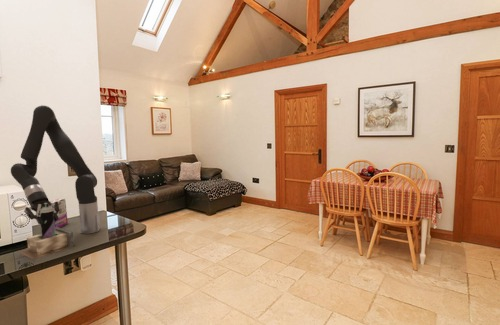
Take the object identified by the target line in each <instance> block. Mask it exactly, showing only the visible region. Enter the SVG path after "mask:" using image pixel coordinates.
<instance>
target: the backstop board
mask: <svg viewBox="0 0 500 325" xmlns="http://www.w3.org/2000/svg"><path fill="white" fill-rule="evenodd" d="M55 230H57V231H60V232H63V233H66V234H67V239H68V246H65V247H62V248H59V249H56V250H53V251H50V252H47V253H44V254H41V255H39V254H37V253H34V252H32V251H30V250H28V247H27V248H24V249H21V250H18V251H17V253H19V254H20V255H23V256H25V257H26V258H29V259H31V260H36V259H40V258H43V257H45V256H48V255H52V254H53V253H56V252H60V251H62V250H65V249H68V248H72V247H75V243H74V232H73V231H70V230H68V229H64V228H62V227H60V228H59V227H55Z"/></svg>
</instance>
